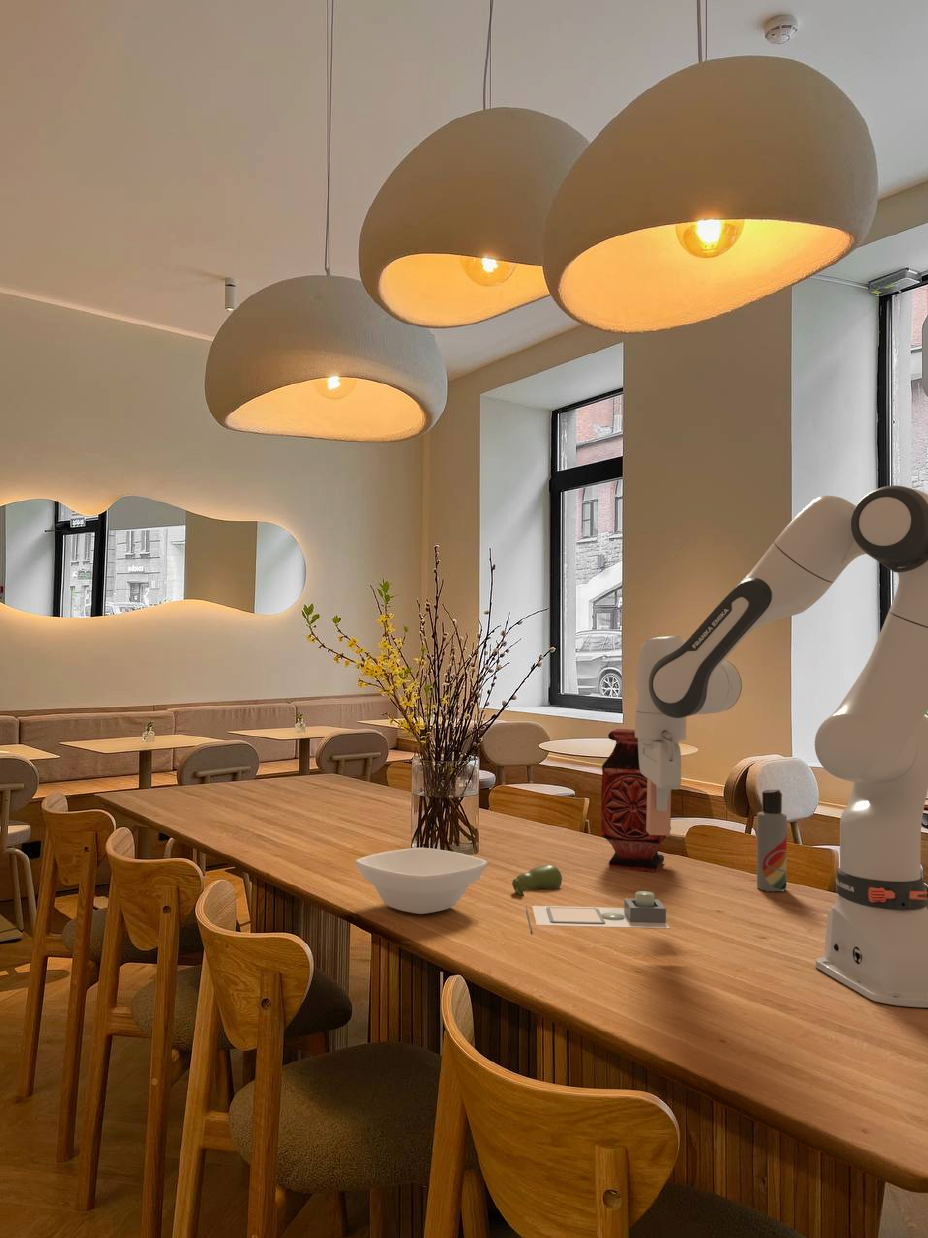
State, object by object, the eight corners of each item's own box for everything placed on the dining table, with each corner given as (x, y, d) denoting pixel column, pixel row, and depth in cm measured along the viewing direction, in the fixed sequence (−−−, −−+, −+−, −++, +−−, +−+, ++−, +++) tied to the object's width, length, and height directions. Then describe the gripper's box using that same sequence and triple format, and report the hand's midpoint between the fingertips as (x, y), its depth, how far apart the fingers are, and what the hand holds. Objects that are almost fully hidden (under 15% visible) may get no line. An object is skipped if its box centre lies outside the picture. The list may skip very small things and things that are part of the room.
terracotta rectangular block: (670, 835, 157) (671, 768, 158) (649, 834, 158) (651, 767, 158) (666, 831, 161) (667, 766, 161) (646, 830, 161) (647, 765, 161)
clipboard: (676, 937, 150) (676, 928, 150) (531, 933, 150) (531, 925, 150) (659, 914, 164) (659, 906, 164) (525, 910, 164) (526, 902, 164)
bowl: (501, 909, 165) (502, 861, 166) (421, 932, 150) (422, 879, 150) (420, 888, 179) (421, 844, 179) (339, 908, 164) (340, 859, 164)
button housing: (665, 922, 154) (665, 908, 154) (630, 921, 154) (630, 907, 154) (658, 913, 160) (658, 899, 160) (624, 912, 160) (624, 898, 160)
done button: (655, 910, 156) (656, 896, 156) (637, 909, 156) (637, 895, 156) (652, 905, 159) (652, 891, 159) (633, 904, 159) (633, 890, 159)
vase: (599, 868, 200) (601, 731, 201) (610, 856, 213) (612, 727, 214) (664, 874, 195) (665, 734, 197) (671, 862, 208) (672, 730, 210)
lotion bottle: (788, 893, 181) (788, 792, 182) (758, 891, 183) (759, 790, 184) (784, 886, 187) (784, 788, 188) (755, 884, 188) (755, 787, 189)
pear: (564, 865, 177) (518, 877, 174) (568, 892, 177) (521, 904, 174) (552, 859, 182) (506, 870, 179) (555, 885, 182) (510, 897, 179)
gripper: (691, 734, 149) (689, 819, 149) (667, 724, 170) (665, 799, 169) (653, 733, 150) (650, 818, 149) (633, 723, 170) (631, 798, 170)
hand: (658, 808), depth 159 cm, fingers closed on terracotta rectangular block, 3 cm apart
